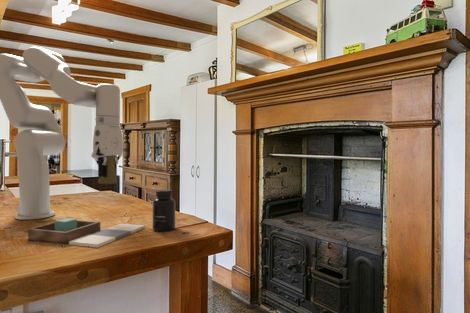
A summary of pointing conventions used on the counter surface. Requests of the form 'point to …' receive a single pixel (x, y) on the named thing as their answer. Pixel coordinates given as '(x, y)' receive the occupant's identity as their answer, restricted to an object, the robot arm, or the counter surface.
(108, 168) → the cork
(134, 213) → the counter surface
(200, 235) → the counter surface
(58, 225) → the teal cube
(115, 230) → the board
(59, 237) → the dice tray
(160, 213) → the supplement bottle
